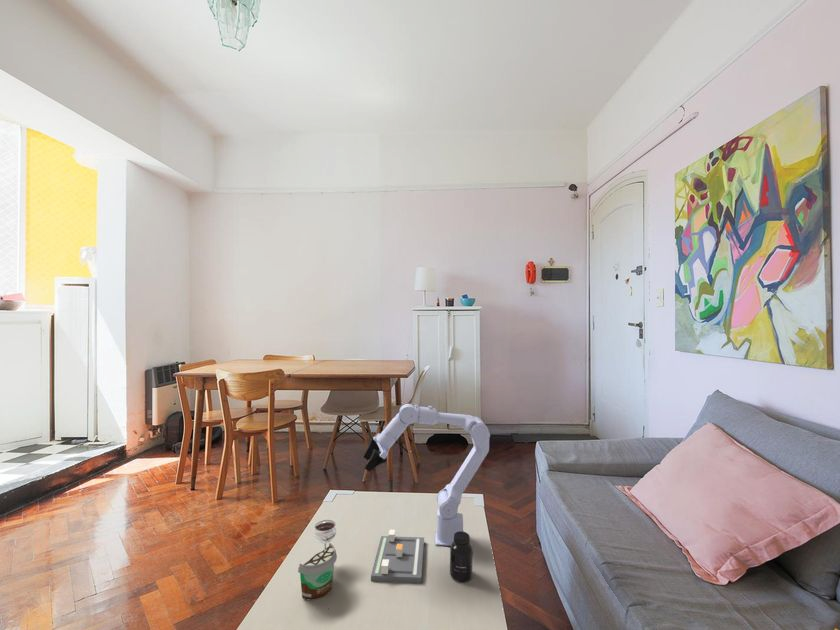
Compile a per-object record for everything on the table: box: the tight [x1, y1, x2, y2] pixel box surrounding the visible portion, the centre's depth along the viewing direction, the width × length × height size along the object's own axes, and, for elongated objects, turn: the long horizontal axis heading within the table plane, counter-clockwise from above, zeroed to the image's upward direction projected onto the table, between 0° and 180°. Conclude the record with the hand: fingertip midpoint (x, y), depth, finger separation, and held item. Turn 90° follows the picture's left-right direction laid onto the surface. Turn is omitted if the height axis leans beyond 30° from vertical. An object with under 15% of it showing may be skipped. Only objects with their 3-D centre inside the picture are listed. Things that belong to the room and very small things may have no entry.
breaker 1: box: [381, 559, 389, 574], centre depth 112 cm, size 2×3×2 cm, turn 177°
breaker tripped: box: [396, 544, 403, 557], centre depth 120 cm, size 2×3×2 cm, turn 177°
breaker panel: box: [370, 535, 425, 584], centre depth 120 cm, size 15×20×2 cm
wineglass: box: [313, 519, 337, 550], centre depth 118 cm, size 7×7×12 cm
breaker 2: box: [387, 529, 396, 542], centre depth 128 cm, size 2×3×2 cm, turn 177°
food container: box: [297, 542, 338, 601], centre depth 106 cm, size 12×6×10 cm, turn 148°
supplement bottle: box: [449, 531, 474, 583], centre depth 113 cm, size 7×7×12 cm
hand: (366, 463), depth 130 cm, fingers open, 7 cm apart
